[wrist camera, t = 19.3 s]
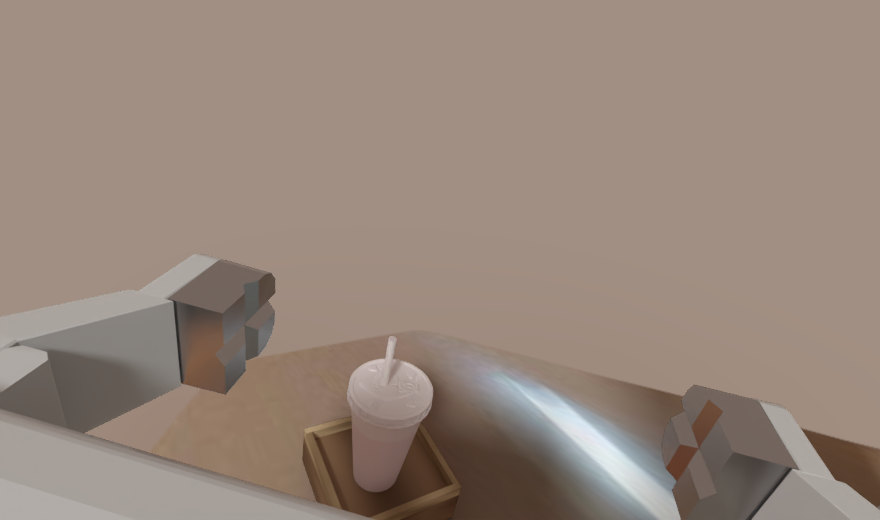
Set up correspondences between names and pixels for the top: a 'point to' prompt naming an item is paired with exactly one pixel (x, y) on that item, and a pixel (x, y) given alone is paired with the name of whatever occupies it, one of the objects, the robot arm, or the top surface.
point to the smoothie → (385, 417)
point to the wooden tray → (396, 509)
